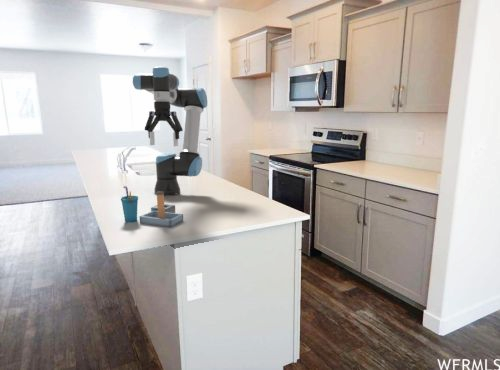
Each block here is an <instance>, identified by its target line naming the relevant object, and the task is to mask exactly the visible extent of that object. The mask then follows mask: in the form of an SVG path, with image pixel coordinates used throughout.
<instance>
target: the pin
mask: <svg viewBox="0 0 500 370" xmlns="http://www.w3.org/2000/svg"><path fill="white" fill-rule="evenodd" d="M156 201H157V202H156V204H157V208H158V218H160V219H165V208H164V204H165V195H164V192H163V191H159V192H157V194H156Z"/></svg>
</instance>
